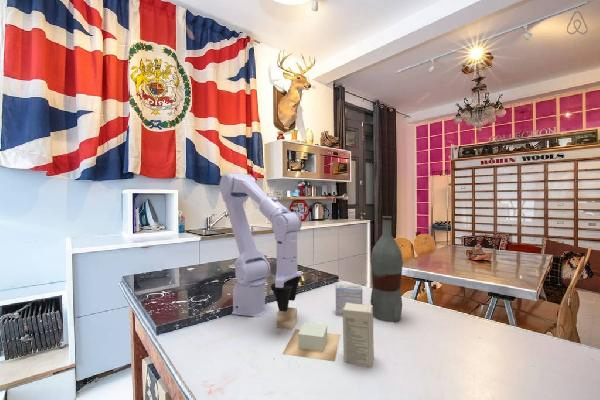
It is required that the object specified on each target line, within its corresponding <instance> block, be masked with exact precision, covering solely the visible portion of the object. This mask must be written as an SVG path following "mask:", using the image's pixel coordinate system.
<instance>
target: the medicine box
mask: <svg viewBox="0 0 600 400" xmlns="http://www.w3.org/2000/svg"><path fill="white" fill-rule="evenodd" d="M363 291H364V290H363V288H362V285H361V284H353V283H352V284H351V283H336V284H335V316H342V317H343V307H344V306H345V304H346V303H355V304H363Z"/></svg>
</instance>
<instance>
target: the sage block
mask: <svg viewBox="0 0 600 400" xmlns="http://www.w3.org/2000/svg"><path fill="white" fill-rule="evenodd" d="M299 330H300V332H299V333H298V349H305V350H313V351H320V352H323V351H324V348H325V345H326V341H327V333H328V325H327V324H320V323H311V322H310V323H309V322H303V324H302V326H301V327H300V329H299Z"/></svg>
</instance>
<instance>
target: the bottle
mask: <svg viewBox="0 0 600 400" xmlns="http://www.w3.org/2000/svg"><path fill="white" fill-rule="evenodd" d="M392 218H393V217H392V216H389V215H385V216H384V215H383V216H382V229H381V230H382V232H381V233H382V234H381V236H380V237H379V239H378V240H377V241H376V243H375V244H374V246H373V248H372V251H371V256H370V257H371V258H370V266H371V278H372V280H371V282H372V288H371V295H370V305H373V318H375V319H377V320H379V321H383V322H394V323H396V322H398V321H400V319H401V315H402V311H403V300H402V299H403V298H402V291H401V285H402V284H401V283H402V273H403V265H404V262H403V261H404V260H403V254H402V253H403V252H402V250H401V248H400V246H399V245H398V242H396V240H395V238H394V236H393V235H392Z"/></svg>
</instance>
